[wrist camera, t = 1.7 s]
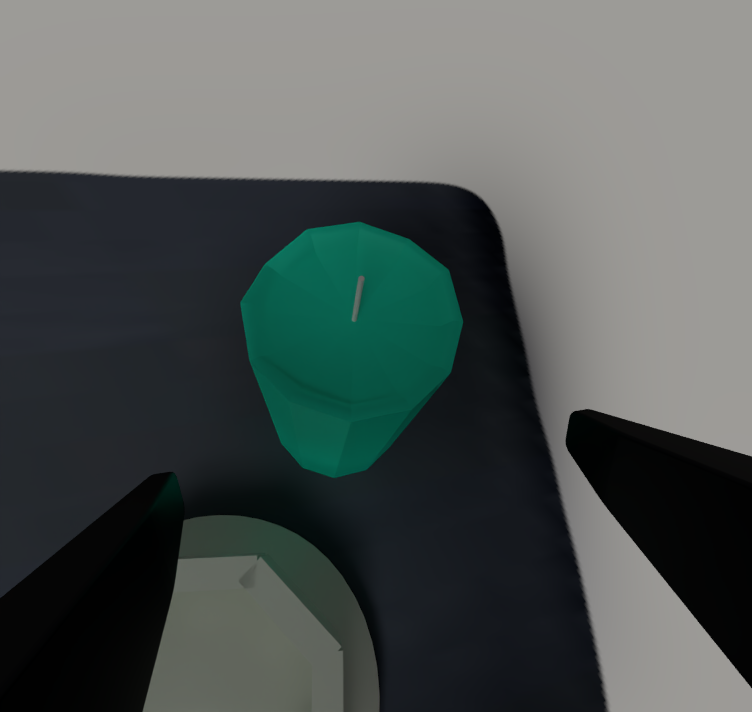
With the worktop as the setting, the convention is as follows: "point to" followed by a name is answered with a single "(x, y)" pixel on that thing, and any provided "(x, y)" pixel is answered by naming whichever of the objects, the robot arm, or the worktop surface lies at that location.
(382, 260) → the candle
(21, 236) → the worktop surface
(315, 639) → the candle dish
